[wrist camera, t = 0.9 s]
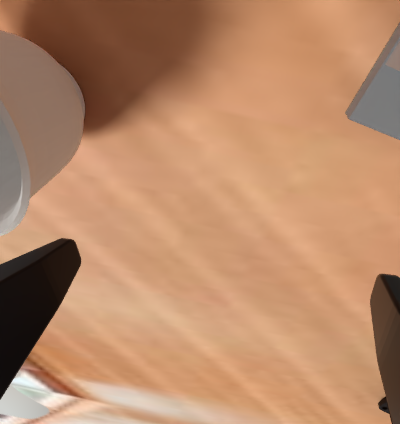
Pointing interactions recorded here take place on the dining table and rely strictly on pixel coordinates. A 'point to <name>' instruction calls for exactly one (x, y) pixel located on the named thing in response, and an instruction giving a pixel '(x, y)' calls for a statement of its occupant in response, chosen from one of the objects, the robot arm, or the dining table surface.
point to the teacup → (33, 123)
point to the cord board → (381, 92)
